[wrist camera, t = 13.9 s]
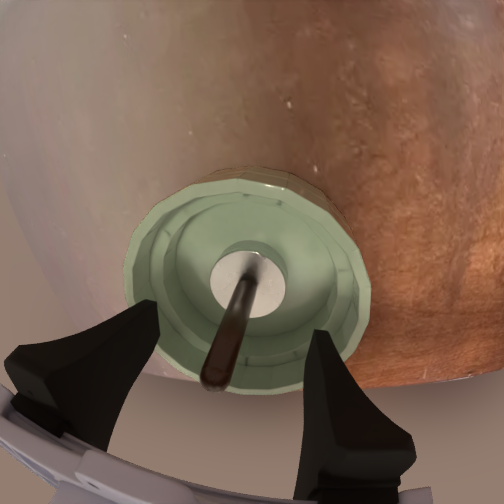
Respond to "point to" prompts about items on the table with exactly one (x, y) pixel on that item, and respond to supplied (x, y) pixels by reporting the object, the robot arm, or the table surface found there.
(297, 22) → the table surface
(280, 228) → the bowl
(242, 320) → the peg on round base
